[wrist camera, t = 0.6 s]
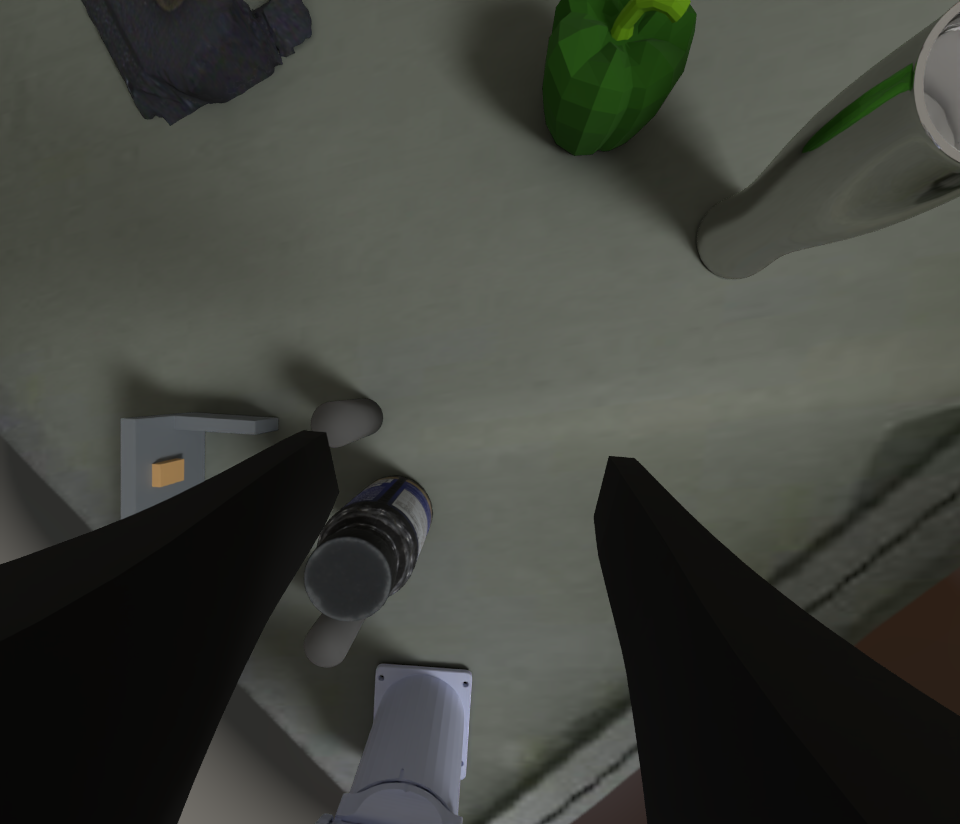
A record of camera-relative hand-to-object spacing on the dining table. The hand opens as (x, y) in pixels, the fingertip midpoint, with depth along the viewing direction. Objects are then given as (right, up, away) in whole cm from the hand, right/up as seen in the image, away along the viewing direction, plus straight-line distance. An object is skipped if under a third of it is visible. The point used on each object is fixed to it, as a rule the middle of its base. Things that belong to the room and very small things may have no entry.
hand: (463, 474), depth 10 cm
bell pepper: (+9, +24, +19) cm, 31 cm away
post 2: (-10, -14, +21) cm, 27 cm away
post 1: (-9, +1, +20) cm, 22 cm away
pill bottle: (-6, -6, +21) cm, 23 cm away
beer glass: (+20, +15, +19) cm, 31 cm away
